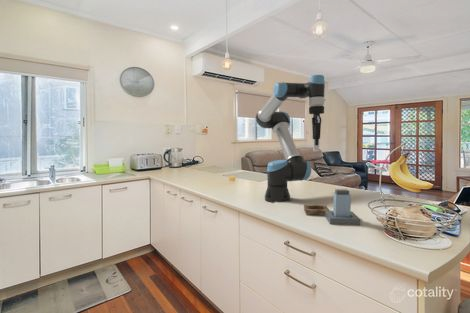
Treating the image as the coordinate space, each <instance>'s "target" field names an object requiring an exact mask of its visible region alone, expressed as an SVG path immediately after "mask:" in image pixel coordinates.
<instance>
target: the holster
mask: <svg viewBox="0 0 470 313" xmlns="http://www.w3.org/2000/svg"><path fill="white" fill-rule="evenodd" d="M303 211H304V213H305V215H306V216H316V217H317V216H318V217H319V216H322V217H323V216H324V217H325V211H331V210H330V209H329V208H328V206H327V205H326V204H322V205H321V204H304V205H303Z"/></svg>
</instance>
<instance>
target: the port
mask: <svg viewBox="0 0 470 313" xmlns="http://www.w3.org/2000/svg"><path fill="white" fill-rule="evenodd" d="M324 217H325V219H326V220H327V221H328V224H329V225H343V226H346V225H347V226H361V218H359V216H358V215H356V214H355V213H354V211H351V210H350V217H334V216H333V210H330V211H325V216H324Z"/></svg>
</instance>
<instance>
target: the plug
mask: <svg viewBox="0 0 470 313" xmlns="http://www.w3.org/2000/svg"><path fill="white" fill-rule="evenodd" d="M351 202H352V195H351V194H350V190H349V189H346V188H345V189H343V188H342V189H341V188H340V189H339V188H337V189H335V188H334V192H333V206H332V208H333V210H332V211H333V216H334V217H350V211H351V204H352V203H351Z"/></svg>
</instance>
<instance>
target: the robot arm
mask: <svg viewBox="0 0 470 313" xmlns="http://www.w3.org/2000/svg"><path fill="white" fill-rule="evenodd" d="M325 84H326V83H325V76H324V75H323V74H313V75H311V76H309V78H308V82H305V83H304V82H303V83H302V82H285V81H283V82H277V83H275V84H274V86H273V90H272V91H273V92H272V93H273V94H272V95H271V97H269V99H268V100H267V102H266V103H265V104H264V106H263V107H262V108H260V109H259V110H258V111H257V112H256V115H255V120H256V124H257V125H258V126H259V127H261V128H263V129H271V130H272V132H273V134H276V137H277V139H278V142H279V145H280V148H281V150H282V152H283V156H284V158H285V159H277V160H272V161H270V162H268V163H267V167H266V168H267V169H266V171H267V172H266V175H267V186H266V191H265V194H264V201H266V202H268V203H283V202H290V201H291V194H290V191H289V187H288V182H298V181H300V182H301V181H305V180H308V179H309V178H310V177H311V174H312V165H311V162H310V161H308V160H305V159H304V157H303V156H302V155H300V154H299V151H298V149H297V147H296V144H295V142H294V139H293V137H292V134H291V133H290V130H289V129H290V125H291V117H290V115H289V113H288V112H286V111H282V110H281V111H277V110H278V109H279V108H280V107H281V106H282V105H283V103H284V102H285V101H286V100H287V99H288V98H299V99H306V98H308V106H309V107H308V114H309V115H312V116H313V117H311V126H312V127H311V128H312V142H313V143H312V145H313V146H312V147H313V148H312V149H313V150H312V151H313V152H316V153H317V152H320V139H321V128H322V127H321V126H322V117H321V115H322V114H325V106H324V105H325V102H326V99H325V87H326V86H325Z"/></svg>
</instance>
